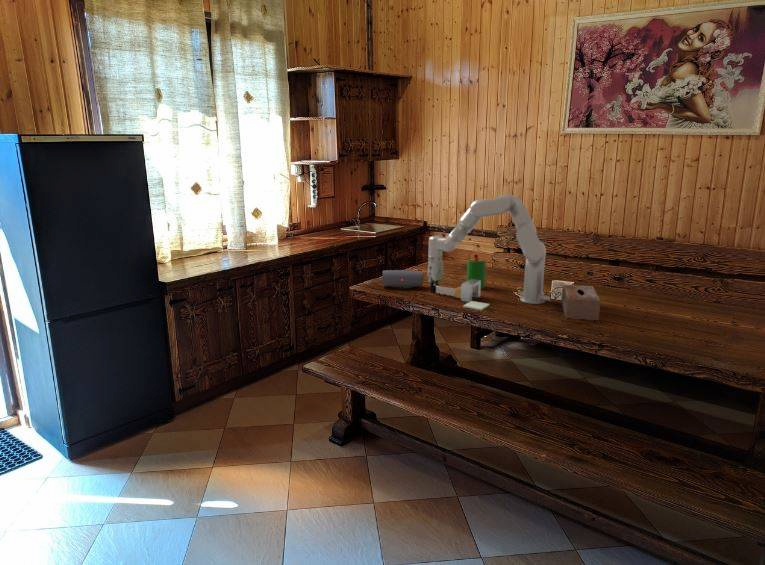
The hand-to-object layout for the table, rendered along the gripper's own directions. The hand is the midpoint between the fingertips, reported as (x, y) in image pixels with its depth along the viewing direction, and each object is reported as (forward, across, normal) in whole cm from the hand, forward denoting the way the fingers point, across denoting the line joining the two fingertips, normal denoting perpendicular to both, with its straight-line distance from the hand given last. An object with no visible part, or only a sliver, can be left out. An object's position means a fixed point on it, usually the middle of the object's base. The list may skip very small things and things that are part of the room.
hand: (434, 291), depth 302 cm
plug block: (0, 0, -16) cm, 17 cm away
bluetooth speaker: (+1, -2, +20) cm, 20 cm away
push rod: (0, 0, -6) cm, 6 cm away
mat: (0, -11, -30) cm, 32 cm away
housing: (0, 0, -22) cm, 22 cm away
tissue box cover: (+1, +10, -76) cm, 76 cm away
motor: (+1, +22, -14) cm, 26 cm away
